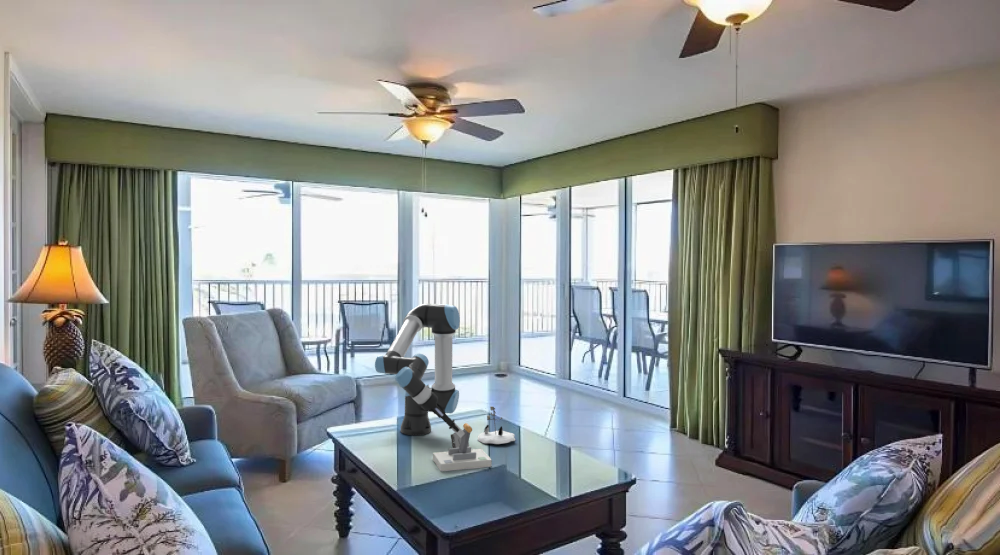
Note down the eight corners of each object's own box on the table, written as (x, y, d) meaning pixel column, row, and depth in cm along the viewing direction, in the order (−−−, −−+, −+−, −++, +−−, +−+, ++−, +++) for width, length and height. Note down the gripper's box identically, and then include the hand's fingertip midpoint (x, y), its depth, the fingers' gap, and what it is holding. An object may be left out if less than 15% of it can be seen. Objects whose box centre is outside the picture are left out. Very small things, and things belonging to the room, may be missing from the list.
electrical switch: (457, 452, 263) (456, 433, 263) (449, 450, 265) (449, 432, 266) (469, 447, 269) (468, 429, 269) (462, 446, 272) (461, 428, 272)
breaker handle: (457, 452, 251) (463, 422, 251) (462, 453, 252) (469, 423, 252) (460, 456, 246) (467, 426, 246) (466, 457, 246) (472, 427, 247)
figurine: (524, 441, 279) (522, 406, 279) (492, 447, 268) (491, 412, 269) (500, 433, 295) (499, 401, 296) (469, 439, 285) (468, 406, 285)
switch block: (432, 459, 252) (433, 447, 251) (481, 455, 259) (481, 443, 259) (440, 471, 239) (441, 458, 238) (491, 466, 246) (491, 454, 246)
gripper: (435, 395, 237) (473, 433, 243) (428, 387, 249) (464, 424, 255) (422, 408, 235) (460, 446, 241) (415, 400, 247) (452, 437, 253)
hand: (462, 435), depth 248 cm, fingers closed
